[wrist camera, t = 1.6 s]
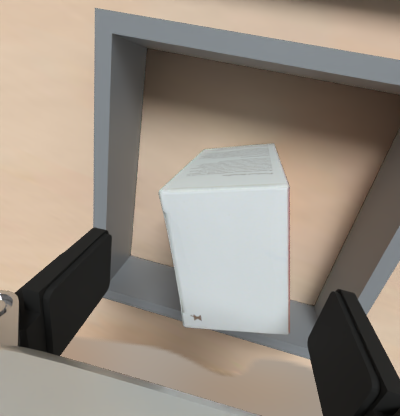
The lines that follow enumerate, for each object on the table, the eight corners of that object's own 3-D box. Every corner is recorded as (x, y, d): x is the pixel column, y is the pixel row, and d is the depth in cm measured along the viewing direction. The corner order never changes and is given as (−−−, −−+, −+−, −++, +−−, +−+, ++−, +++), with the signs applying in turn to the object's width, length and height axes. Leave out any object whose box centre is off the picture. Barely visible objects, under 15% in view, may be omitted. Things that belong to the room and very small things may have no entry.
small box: (277, 236, 22) (291, 340, 13) (212, 237, 24) (182, 332, 14) (276, 140, 20) (293, 183, 10) (202, 147, 21) (155, 190, 11)
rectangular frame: (439, 83, 16) (509, 78, 12) (321, 317, 25) (335, 366, 20) (134, 29, 18) (95, 8, 14) (120, 260, 27) (92, 294, 22)
